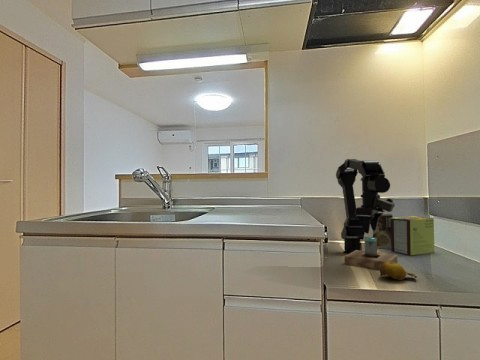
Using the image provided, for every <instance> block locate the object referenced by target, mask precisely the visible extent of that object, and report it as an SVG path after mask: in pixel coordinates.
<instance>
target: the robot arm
mask: <svg viewBox="0 0 480 360" xmlns="http://www.w3.org/2000/svg"><path fill="white" fill-rule="evenodd" d="M358 174H360V175H361V178H360V181H361V194H360V198H361V199H362V201H361V202H362V203H361V204H362V205H361V204H360V206H357V205H356V198H355V190H354V184H355V183H356V180H357V179H356V177H357V175H358ZM385 174H386V173H385V171H384V169H383V168H382V165H381V163H380V161H379V160H361V159H360V160H359V159H356V158H347V159H345V160H344V162H343V163H342V164H340V166H338V167H337V170H336V173H335V178H336V179H337V184H338V185H339V186H340V188H341V189H342V195H343V203H344V209H345V210H344V211H345V215H346V216H345V221H344V222H343V227H342V230H341V232H340V236H341V239H342V240H343V242H344V243H343V246H344V251H343V252H342V253H344V254H350V253H351V252H353V251H355V250H361V251H363V249H362V245H363V243H362V242H361V241H362V240H365V234H367V235H369V233H370V228H371V230H372V232H373V231H375V230H376V227H377V223H378V219H379V217H380V216H381V215H382V214H384V213H385V212H388V213H391V212H393V209H394V208H395V204H396V203H395V202H394V200H393V198H387V199H382V198H381V195H380V194H383V193H384V194H385V193H387V192H389V190H390V188H391V183H390V180H389V179H388V178H387V177H386V175H385Z"/></svg>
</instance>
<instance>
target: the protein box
mask: <svg viewBox="0 0 480 360" xmlns="http://www.w3.org/2000/svg"><path fill="white" fill-rule="evenodd" d="M434 220H435V219H434V218H433V217H427V216H426V217H425V216H416V215H409V216H399V217H397V216H395V217H393V218H391V249H390V251H391V252H394V253H398V254H403V255H405V256H407V255H408V256H417V255H424V254H431V253H435V221H434Z"/></svg>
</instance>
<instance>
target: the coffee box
mask: <svg viewBox="0 0 480 360" xmlns="http://www.w3.org/2000/svg"><path fill="white" fill-rule="evenodd" d="M391 218H394V216H393V213H383V214H382V215H381V216H380V217H379V219H378V223H377V227H376V230H375V231H373V230H372V237H375V238H377V249H385V250H386V249H387V250H391Z"/></svg>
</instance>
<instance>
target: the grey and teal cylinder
mask: <svg viewBox="0 0 480 360" xmlns="http://www.w3.org/2000/svg"><path fill="white" fill-rule="evenodd" d="M364 251H365V257H371V258H377V253H378V248H377V238H375V237H373V236H366V237H365V236H364Z"/></svg>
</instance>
